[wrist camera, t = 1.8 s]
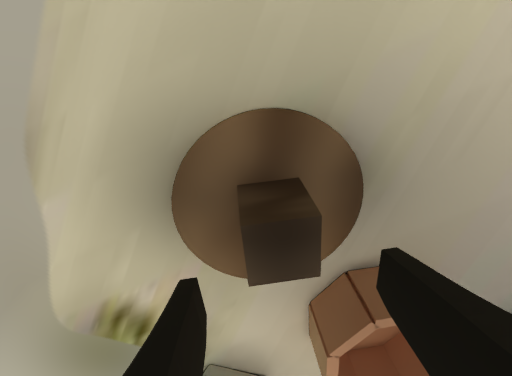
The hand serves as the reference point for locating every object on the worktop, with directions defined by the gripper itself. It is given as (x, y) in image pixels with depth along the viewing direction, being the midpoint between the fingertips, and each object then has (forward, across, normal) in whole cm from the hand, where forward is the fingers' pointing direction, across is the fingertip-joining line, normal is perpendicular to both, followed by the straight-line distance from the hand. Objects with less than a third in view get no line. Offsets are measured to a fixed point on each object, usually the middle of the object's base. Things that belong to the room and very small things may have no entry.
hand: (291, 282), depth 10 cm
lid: (+7, 0, 0) cm, 7 cm away
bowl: (+6, -7, +11) cm, 15 cm away
